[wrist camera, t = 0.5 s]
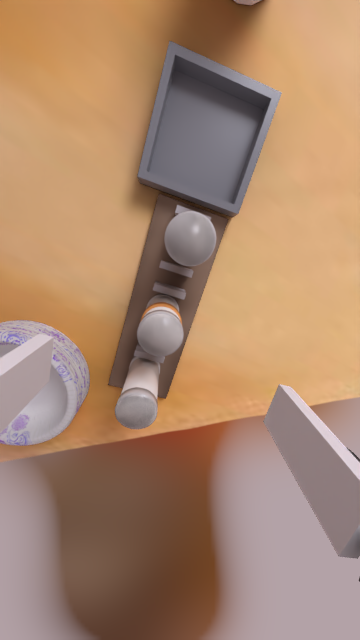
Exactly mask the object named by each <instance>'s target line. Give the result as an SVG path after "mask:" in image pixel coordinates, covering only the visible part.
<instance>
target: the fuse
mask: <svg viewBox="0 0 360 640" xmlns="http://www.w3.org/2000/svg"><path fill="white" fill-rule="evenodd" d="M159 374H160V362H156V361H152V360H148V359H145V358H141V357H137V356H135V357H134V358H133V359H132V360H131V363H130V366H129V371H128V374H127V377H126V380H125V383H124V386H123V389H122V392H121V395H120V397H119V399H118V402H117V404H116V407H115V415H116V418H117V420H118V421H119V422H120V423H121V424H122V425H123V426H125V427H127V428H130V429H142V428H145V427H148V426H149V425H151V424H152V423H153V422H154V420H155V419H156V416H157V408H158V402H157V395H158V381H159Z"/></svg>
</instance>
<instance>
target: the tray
mask: <svg viewBox="0 0 360 640" xmlns="http://www.w3.org/2000/svg"><path fill="white" fill-rule="evenodd" d="M280 96H281V92H279V91H277V90H275V89H273V88H271V87H269V86H266V85H264V84H262V83H260V82H258V81H256V80H253V79H251V78H249V77H247V76H245V75H243V74H241V73H238V72H236V71H234V70H232V69H230V68H228V67H225V66H223V65H221V64H219V63H217V62H215V61H213V60H210V59H208V58H206V57H204V56H202V55H200V54H198V53H195V52H193V51H191V50H189V49H187V48H185V47H182V46H180V45H178V44H176V43H174V42H172V41H169V46H168V50H167V54H166V58H165V62H164V67H163V71H162V75H161V79H160V83H159V88H158V92H157V96H156V100H155V104H154V109H153V113H152V117H151V121H150V125H149V130H148V134H147V138H146V142H145V147H144V151H143V155H142V159H141V163H140V168H139V172H138V176H137V177H138V179H139V182H140V183H141V184H144V185H146V186H149V187H152V188H155V189H157V190H160V191H163V192H165V193H168V194H171V195H173V196H176V197H179V198H182V199H184V200H187V201H190V202H192V203H195V204H198V205H200V206H203V207H206V208H209V209H211V210H214V211H217V212H219V213H222V214H225V215H228V216H230V217H234V216H236V215H237V214H238V213H239V210H240V208H241V205H242V202H243V199H244V196H245V194H246V191H247V188H248V185H249V182H250V180H251V177H252V174H253V171H254V169H255V166H256V163H257V160H258V157H259V155H260V152H261V149H262V146H263V143H264V141H265V138H266V135H267V132H268V129H269V127H270V124H271V121H272V118H273V116H274V113H275V110H276V107H277V104H278V102H279V99H280Z"/></svg>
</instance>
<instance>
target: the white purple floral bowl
mask: <svg viewBox="0 0 360 640" xmlns="http://www.w3.org/2000/svg"><path fill="white" fill-rule="evenodd" d="M38 334H43V335H48V336H52V337H54V341H53V350H52V359H51V368H50V377H49V382H48V383H47V384H46V385H45V386H44V387H43V388H42V389H41V390H40V391H39V393H38V394H37V395H36V396H35V397H34V398H33V399H32V400H31V401H30V402H29V403H28V404H27V405H26V407H25V408H24V409H23V410H22V411H21V412H20V413H19V414H18V415H17V416H16V417H15V418H14V419H13V420H12V422H11V423H10V424H9V425H8V426H7V427H6V428H5V429H4V430H3V431H2V432H1V433H0V443H2V444H8V445H20V446H23V445H33V444H38V443H42V442H45V441H47V440H50V439H52V438H54V437H55V436H57V435H59V434H60V433H61V432H62V431H64V430H65V429H66V428H67V427H68V426H69V424H70V423H71V421H72V420H73V418H74V416H75V414H76V413H77V412H78V410H79V408H80V406H81V404H82V403H83V401H84V399H85V397H86V395H87V393H88V390H89V384H90V375H89V369H88V365H87V363H86V360H85V358H84V356H83V355H82V353H81V351H80V350H79V348H78V347H77V346H76V345H75V344H74V343H73V342H72V341H71V340H70V339H69V338H68V337H67V336H66V335H64V334H63V333H62V332H60V331H58V330H56V329H54V328H53V327H50V326H48V325H46V324H43V323H40V322H34V321H28V320H16V321H7V322H2V323H0V358H1V357H3V356H4V355H6V354H7V353H9V352H11V351H12V350H14V349H15V348H17V347H19V346H20V345H22V344H23V343H25V342H27V341H28V340H30V339H31V338H33V337H35V336H36V335H38Z"/></svg>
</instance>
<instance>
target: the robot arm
mask: <svg viewBox="0 0 360 640" xmlns="http://www.w3.org/2000/svg"><path fill="white" fill-rule="evenodd" d="M53 341H54V337H52V336H48V335H43V334H38V335H36V336H35V337H33V338H31V339H30V340H28V341H27V342H25V343H23V344H22V345H20V346H19V347H17V348H15V349H14V350H12V351H11V352H9V353H7V354H6V355H4V356H3V357H1V358H0V433H1V432H2V431H3V430H4V429H5V428H6V427H7V426H8V425H9V424H10V423H11V422H12V420H13V419H14V418H15V417H16V416H17V415H18V414H19V413H20V412H21V411H22V410H23V409H24V408H25V407H26V405H27V404H28V403H29V402H30V401H31V400H32V399H33V398H34V397H35V396H36V395H37V394H38V393H39V391H40V390H41V389H42V388H43V387H44V386H45V385H46V384H47V383H48V382H49V377H50V368H51V359H52V350H53ZM263 422H264V424H265V426H266V427H267V429H268V431H269V433H270V434H271V436H272V438H273V440H274V442H275V443H276V445H277V447H278V449H279V451H280V452H281V454H282V456H283V458H284V460H285V461H286V463H287V465H288V467H289V469H290V470H291V472H292V474H293V475H294V477H295V479H296V481H297V483H298V485H299V486H300V488H301V490H302V492H303V494H304V495H305V497H306V499H307V501H308V503H309V504H310V506H311V508H312V510H313V511H314V513H315V515H316V517H317V519H318V520H319V522H320V524H321V525H322V527H323V529H324V531H325V533H326V535H327V536H328V538H329V540H330V542H331V544H332V545H333V547H334V549H335V551H336V553H337V554H338V556H340V557H349V558H358V557H359V556H360V459H359V458H358V457H357V456H356V455H355V454H354V453H353V452H351V451H350V450H349V449H348V448H347V447H345V446H344V445H343V444H342V443H341V441H340V440H339V439H338V438H337V437H336V436H335V435H334V434H333V433H332V432H331V431H330V429H329V428H328V427H327V426H326V425H325V424H324V423H323V422H322V421H321V419H320V418H319V417H318V416H317V415H316V414H315V413H314V412H313V411H312V410H311V408H310V407H309V406H308V405H307V404H306V403H305V402H304V401H303V400H302V399H301V397H300V396H299V395H298V394H297V393H296V392H295V391H294V390H293V389H292V388H291V387H289V386H285V385H280V384H279V386H278V388H277V391H276V393H275V395H274V398H273V400H272V402H271V405H270V407H269V409H268V412H267V414H266V417H265V419H264V421H263ZM359 581H360V578H359Z"/></svg>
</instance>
